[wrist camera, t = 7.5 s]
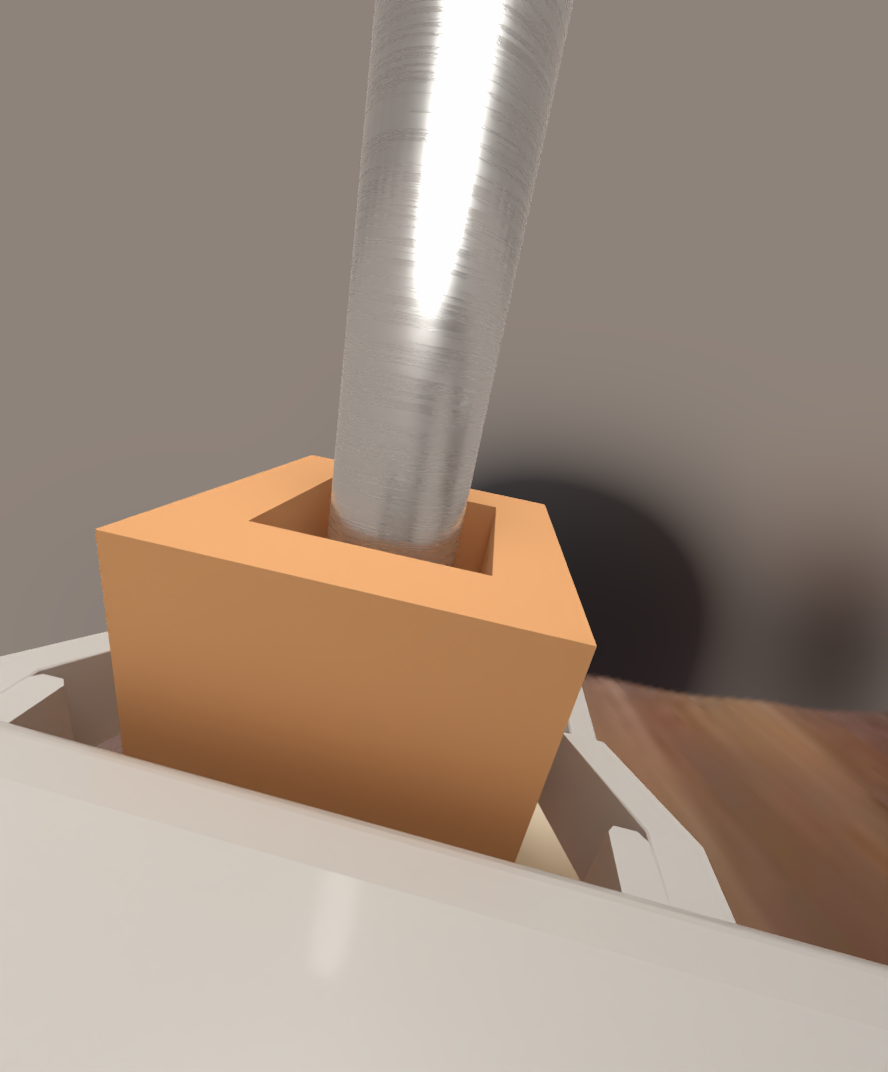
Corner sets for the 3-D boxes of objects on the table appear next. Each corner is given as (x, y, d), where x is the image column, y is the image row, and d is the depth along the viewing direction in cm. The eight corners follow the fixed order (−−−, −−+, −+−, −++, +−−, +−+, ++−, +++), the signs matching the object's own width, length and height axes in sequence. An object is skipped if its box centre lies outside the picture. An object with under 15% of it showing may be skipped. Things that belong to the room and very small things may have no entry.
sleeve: (456, 1015, 7) (596, 646, 5) (145, 923, 8) (94, 529, 5) (476, 744, 13) (544, 504, 10) (295, 698, 13) (312, 455, 11)
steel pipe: (352, 1080, 12) (761, -734, 3) (258, 1051, 12) (341, -745, 3) (379, 953, 15) (632, -173, 5) (302, 931, 15) (419, -197, 6)
